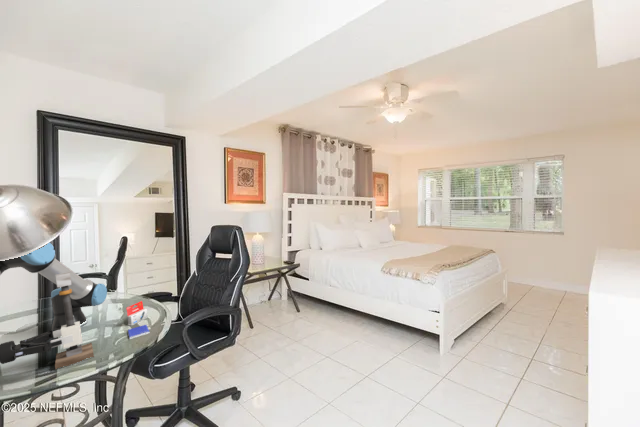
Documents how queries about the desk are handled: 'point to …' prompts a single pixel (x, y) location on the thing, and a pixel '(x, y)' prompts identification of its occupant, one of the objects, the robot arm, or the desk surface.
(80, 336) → the sleeve
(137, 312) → the ink cartridge box
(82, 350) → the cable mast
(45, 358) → the desk surface
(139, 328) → the hard drive
